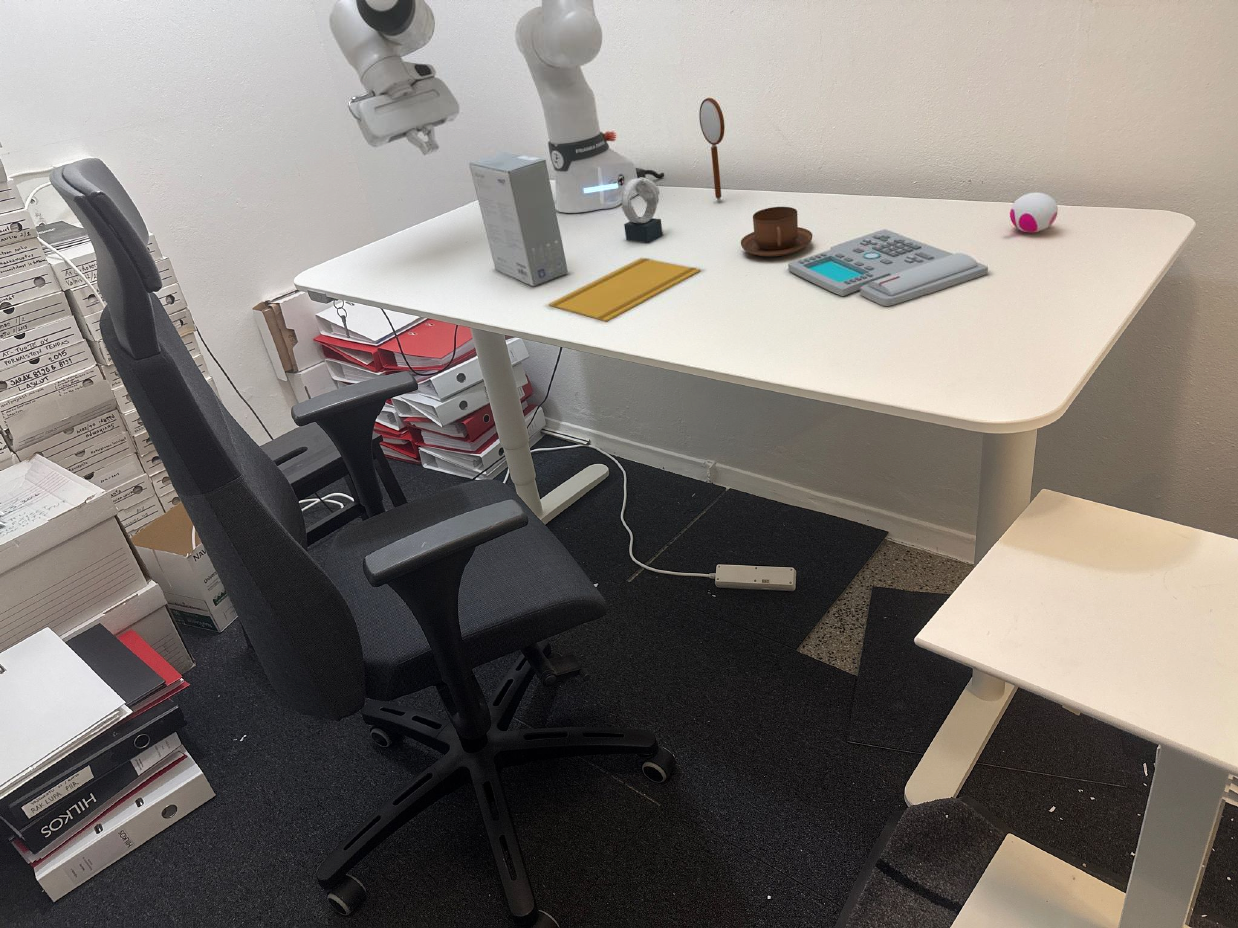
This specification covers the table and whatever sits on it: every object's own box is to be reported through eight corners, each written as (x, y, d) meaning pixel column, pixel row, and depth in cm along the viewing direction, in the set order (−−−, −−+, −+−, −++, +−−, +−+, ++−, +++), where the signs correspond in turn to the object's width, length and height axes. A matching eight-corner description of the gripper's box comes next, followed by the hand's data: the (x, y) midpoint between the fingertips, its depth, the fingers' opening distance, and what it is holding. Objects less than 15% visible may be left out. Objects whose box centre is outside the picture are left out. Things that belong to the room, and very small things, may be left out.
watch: (669, 232, 157) (661, 173, 151) (642, 246, 152) (633, 186, 147) (646, 229, 161) (639, 172, 155) (620, 243, 156) (610, 185, 150)
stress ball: (1003, 247, 134) (985, 219, 130) (1041, 210, 133) (1023, 181, 129) (1036, 258, 127) (1018, 229, 124) (1076, 219, 126) (1059, 189, 123)
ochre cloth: (641, 259, 147) (641, 257, 146) (700, 271, 137) (700, 269, 137) (549, 305, 135) (548, 303, 135) (606, 321, 126) (606, 319, 126)
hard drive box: (570, 274, 146) (547, 159, 135) (533, 288, 143) (507, 172, 132) (528, 257, 158) (504, 150, 147) (493, 270, 154) (466, 162, 144)
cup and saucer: (825, 250, 136) (825, 213, 133) (759, 268, 134) (757, 231, 131) (792, 232, 146) (791, 197, 143) (730, 248, 144) (727, 213, 141)
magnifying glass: (733, 205, 165) (724, 99, 154) (725, 207, 164) (716, 101, 153) (712, 197, 172) (702, 95, 161) (705, 199, 171) (694, 97, 160)
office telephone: (991, 257, 117) (876, 297, 112) (989, 274, 119) (876, 314, 113) (885, 221, 136) (781, 253, 130) (884, 236, 137) (782, 269, 132)
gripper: (347, 89, 144) (391, 159, 146) (439, 63, 156) (479, 128, 157) (339, 110, 150) (381, 176, 151) (428, 82, 161) (466, 145, 163)
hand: (432, 151), depth 154 cm, fingers closed
